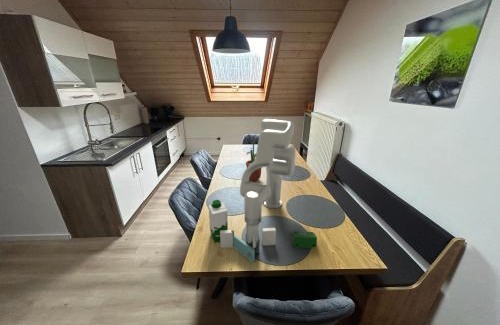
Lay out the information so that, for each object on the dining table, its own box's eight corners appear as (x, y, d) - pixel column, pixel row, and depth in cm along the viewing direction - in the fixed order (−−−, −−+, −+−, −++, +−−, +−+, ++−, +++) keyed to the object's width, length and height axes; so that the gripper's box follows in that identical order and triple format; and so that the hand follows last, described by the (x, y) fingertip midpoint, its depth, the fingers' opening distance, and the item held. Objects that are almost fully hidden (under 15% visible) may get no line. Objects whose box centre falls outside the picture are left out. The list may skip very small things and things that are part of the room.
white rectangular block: (220, 244, 106) (220, 230, 102) (273, 241, 108) (275, 227, 105) (220, 247, 104) (219, 233, 100) (274, 244, 106) (275, 230, 103)
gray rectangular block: (245, 246, 104) (245, 233, 101) (258, 245, 105) (258, 233, 102) (246, 253, 100) (246, 240, 97) (259, 252, 101) (259, 240, 97)
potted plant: (243, 177, 175) (243, 136, 161) (259, 174, 181) (261, 135, 168) (252, 187, 160) (253, 143, 147) (269, 183, 166) (272, 140, 153)
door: (235, 245, 105) (235, 234, 102) (254, 261, 96) (254, 249, 94) (231, 248, 103) (231, 237, 100) (250, 264, 95) (251, 252, 92)
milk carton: (224, 229, 117) (223, 197, 109) (230, 240, 109) (229, 207, 101) (209, 233, 113) (206, 201, 106) (213, 244, 106) (211, 211, 98)
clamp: (308, 248, 111) (316, 233, 109) (311, 254, 105) (320, 239, 103) (288, 238, 110) (295, 224, 109) (290, 245, 104) (298, 229, 103)
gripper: (243, 206, 102) (243, 235, 109) (245, 231, 87) (245, 262, 94) (258, 205, 102) (258, 234, 110) (264, 229, 87) (262, 261, 95)
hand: (252, 247), depth 102 cm, fingers closed on gray rectangular block, 4 cm apart
